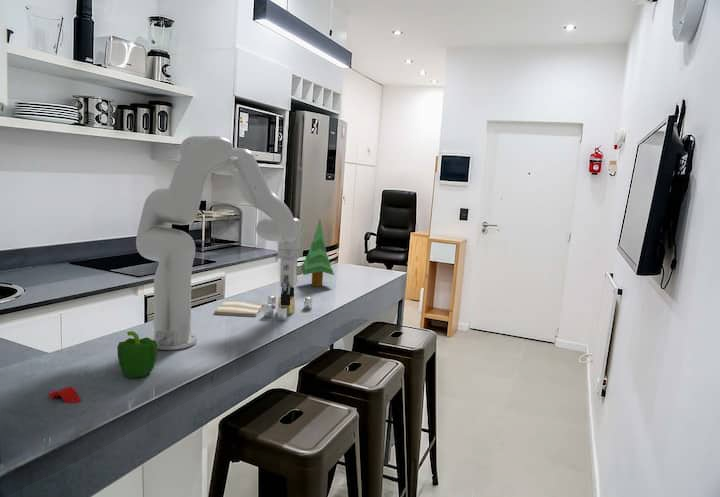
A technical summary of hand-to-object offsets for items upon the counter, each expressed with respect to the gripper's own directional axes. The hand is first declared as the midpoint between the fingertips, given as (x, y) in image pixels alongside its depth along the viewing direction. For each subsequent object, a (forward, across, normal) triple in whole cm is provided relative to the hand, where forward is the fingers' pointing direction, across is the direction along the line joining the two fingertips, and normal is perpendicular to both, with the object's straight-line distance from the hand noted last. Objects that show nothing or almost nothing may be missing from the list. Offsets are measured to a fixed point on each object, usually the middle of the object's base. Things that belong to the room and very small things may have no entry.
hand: (287, 301), depth 178 cm
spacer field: (+4, 0, 0) cm, 4 cm away
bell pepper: (+3, -60, +26) cm, 66 cm away
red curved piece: (+3, -74, +35) cm, 82 cm away
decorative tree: (+5, +45, -7) cm, 45 cm away
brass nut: (+4, 0, 0) cm, 4 cm away
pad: (+4, -1, +16) cm, 17 cm away
